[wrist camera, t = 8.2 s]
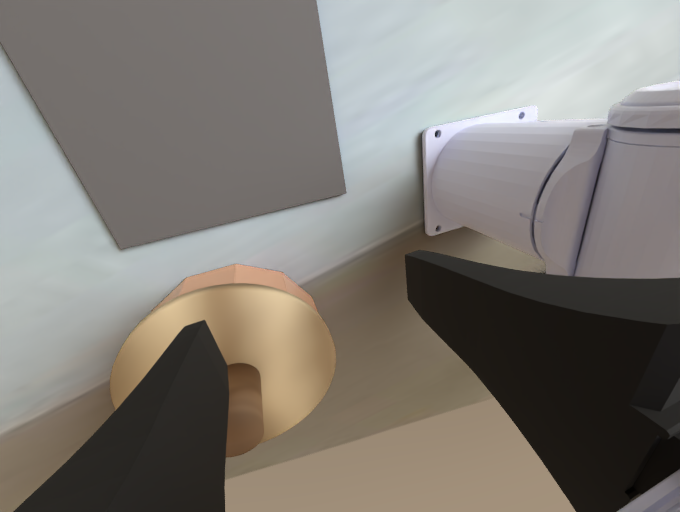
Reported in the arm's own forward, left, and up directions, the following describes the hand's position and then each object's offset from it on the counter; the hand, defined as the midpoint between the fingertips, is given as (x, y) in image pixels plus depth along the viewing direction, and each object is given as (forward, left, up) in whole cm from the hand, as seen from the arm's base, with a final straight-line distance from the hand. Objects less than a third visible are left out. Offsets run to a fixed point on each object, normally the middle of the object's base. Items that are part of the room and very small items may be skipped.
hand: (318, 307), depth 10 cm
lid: (+5, +7, -6) cm, 11 cm away
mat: (+2, -8, -10) cm, 13 cm away
